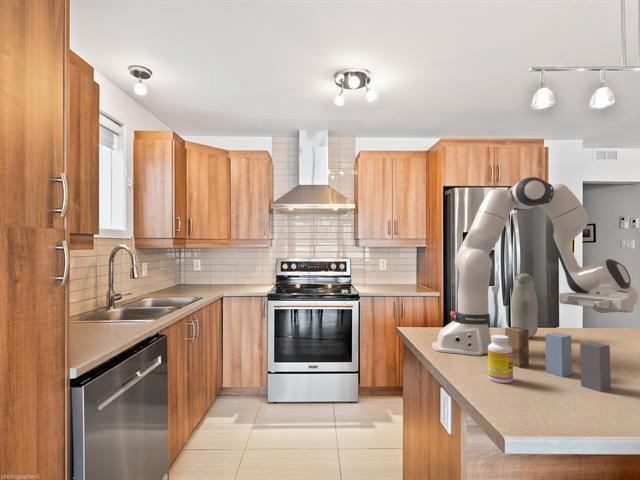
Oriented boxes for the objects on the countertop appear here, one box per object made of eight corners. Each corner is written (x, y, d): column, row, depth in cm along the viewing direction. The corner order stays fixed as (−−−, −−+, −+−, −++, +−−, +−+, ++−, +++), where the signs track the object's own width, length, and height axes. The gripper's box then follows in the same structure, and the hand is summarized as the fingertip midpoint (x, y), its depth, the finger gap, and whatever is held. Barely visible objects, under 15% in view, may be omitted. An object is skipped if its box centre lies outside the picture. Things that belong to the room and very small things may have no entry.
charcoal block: (600, 391, 103) (599, 347, 104) (581, 386, 108) (580, 343, 108) (610, 388, 106) (609, 345, 106) (591, 383, 110) (590, 341, 110)
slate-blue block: (562, 377, 115) (561, 337, 116) (545, 372, 120) (545, 334, 120) (571, 374, 118) (571, 335, 118) (555, 370, 122) (554, 332, 122)
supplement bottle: (511, 385, 109) (511, 340, 109) (486, 381, 112) (485, 337, 113) (514, 378, 114) (513, 335, 115) (490, 374, 118) (489, 333, 118)
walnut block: (519, 367, 125) (518, 330, 125) (505, 363, 129) (505, 328, 130) (529, 365, 127) (528, 329, 127) (515, 361, 132) (514, 326, 132)
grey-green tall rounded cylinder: (508, 334, 172) (507, 272, 173) (532, 335, 171) (531, 272, 172) (516, 340, 162) (515, 274, 163) (542, 340, 161) (540, 274, 162)
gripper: (571, 288, 141) (548, 290, 134) (638, 293, 122) (615, 296, 116) (572, 305, 140) (549, 308, 134) (639, 313, 122) (615, 316, 116)
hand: (580, 302), depth 125 cm, fingers open, 8 cm apart
